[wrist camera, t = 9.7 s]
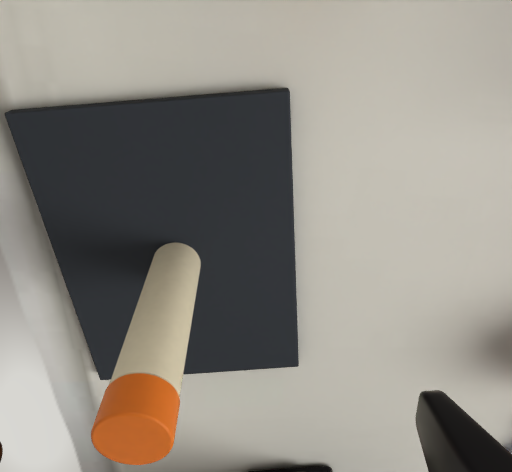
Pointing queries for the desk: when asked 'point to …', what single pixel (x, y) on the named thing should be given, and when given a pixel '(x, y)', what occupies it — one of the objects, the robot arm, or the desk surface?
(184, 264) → the glue stick
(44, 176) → the mat
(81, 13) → the desk surface
